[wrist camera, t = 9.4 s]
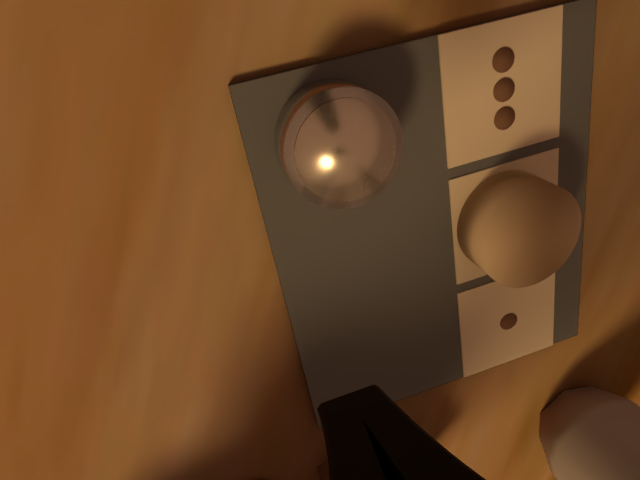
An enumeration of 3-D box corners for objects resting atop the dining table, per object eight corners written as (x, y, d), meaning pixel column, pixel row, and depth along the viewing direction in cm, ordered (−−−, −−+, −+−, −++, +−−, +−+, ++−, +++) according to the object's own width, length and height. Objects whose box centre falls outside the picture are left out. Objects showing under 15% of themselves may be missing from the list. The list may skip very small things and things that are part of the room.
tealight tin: (339, 209, 20) (356, 231, 18) (252, 153, 18) (260, 170, 16) (404, 121, 19) (428, 134, 17) (318, 54, 17) (335, 60, 15)
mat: (317, 424, 25) (320, 431, 24) (227, 84, 17) (229, 86, 17) (573, 331, 27) (578, 336, 26) (590, -4, 19) (599, -4, 19)
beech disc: (460, 278, 23) (486, 302, 21) (452, 187, 21) (479, 205, 19) (548, 247, 23) (579, 267, 22) (548, 156, 21) (583, 170, 20)
